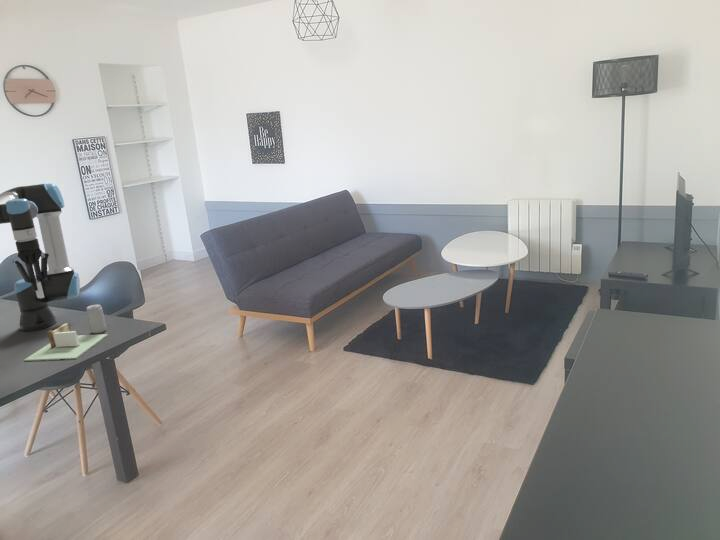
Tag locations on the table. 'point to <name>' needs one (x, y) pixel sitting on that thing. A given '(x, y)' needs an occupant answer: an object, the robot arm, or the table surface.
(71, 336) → the panel
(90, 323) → the beverage can
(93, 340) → the card
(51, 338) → the fence fixed
